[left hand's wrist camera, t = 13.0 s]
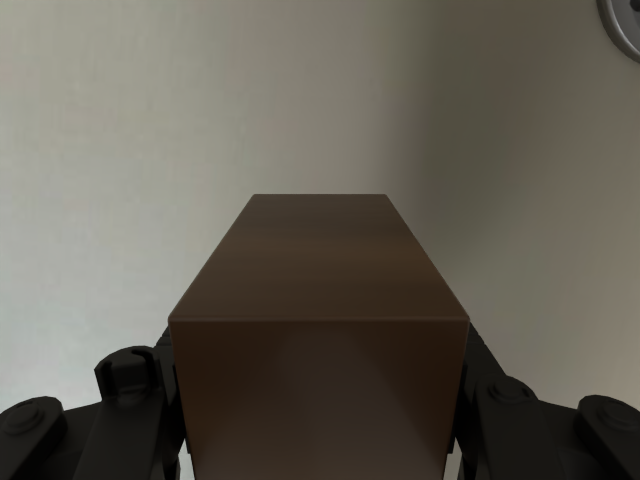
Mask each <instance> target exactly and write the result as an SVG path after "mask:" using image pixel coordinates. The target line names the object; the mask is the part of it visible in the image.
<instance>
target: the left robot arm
mask: <svg viewBox="0 0 640 480" xmlns="http://www.w3.org/2000/svg"><path fill="white" fill-rule="evenodd" d="M597 6H598V10H599V14H600V18H601V20H602V23H603V26H604V28H605V30H606V32H607V34H608V36H609V37H610V38H611V40H612V41H613V43H614V44H615V45H616V46H617V47H618V48H619V50H621V51H622V52H623V53H624V54H625V55H626V56H628V57H629V58H631V59H632V60H634V61H636V62H638V63H640V0H597ZM94 372H95V375H96V379H97V383H98V386H99V390H100V394H101V397H102V401H101V402H98V403H95V404H91V405H87V406H83V407H78V408H74V409H70V410H65V411H64V410H63V407H62V404H61V402H60V401H59V400H58V399H56V398H54V397H48V396H43V397H36V398H31V399H28V400H26V401H23V402H20V403H18V404H16V405H14V406H12V407H10V408H8V409H7V410H5V411H3V412H2V413H1V414H0V480H180V462H179V457H178V454H179V452H180V449H181V447H182V444H183V442H184V439H185V441H186V447H187V452H188V454H190V449H189V443H188V437H187V431H186V425H185V420H184V414H183V408H182V402H181V396H180V390H179V385H178V379H177V373H176V367H175V361H174V355H173V350H172V344H171V338H170V332H169V326H168V327H167V328H166V330H165V331H164V333H163V334H162V337H160V339H159V340H158V342H157V343H156V346H154V348H152V347H148V346H132V347H128V348H124V349H120V350H118V351H116V352H114V353H112V354H109V355H108V356H107V357H105V358H104V359H103V360H101V361H100V362H99V363H98V365H97V366H96V368H95V369H94ZM455 437H456V439H457V442H458V444H459V447H460V449H461V452H462V457H461V462H460V467H459V472H458V478H457V480H640V412H639V411H638V410H637V409H635V408H633V407H632V406H630V405H628V404H626V403H624V402H622V401H619V400H617V399H614V398H611V397H608V396H601V395H590V396H585V397H584V398H583V399H581V400H580V402H579V405H578V408H577V409H573V408H568V407H564V406H560V405H555V404H551V403H547V402H544V401H541V400H538V398H537V397H536V395H535V393H534V392H533V390H531V389H530V388H529V387H528V386H527V385H525V384H524V383H523V382H521V381H519V380H517V379H515V378H513V377H510V376H507V375H506V374H505V373H504V371H503V370H502V368H501V367H500V365H499V364H498V362H497V361H496V359H495V358H494V356H493V355H492V353H491V352H490V350H489V349H488V347H487V346H486V345H485V344H484V341H483V340H482V338H481V337H480V336H479V335H478V332H477V331H476V329H475V328H474V326H473V325H472V323H471V322H470V325H469V331H468V337H467V343H466V349H465V354H464V360H463V366H462V372H461V378H460V384H459V390H458V396H457V401H456V407H455V413H454V419H453V425H452V431H451V437H450V443H449V448H448V454H453V448H454V442H455Z"/></svg>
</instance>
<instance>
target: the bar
mask: <svg viewBox="0 0 640 480" xmlns="http://www.w3.org/2000/svg"><path fill="white" fill-rule="evenodd" d="M469 325H470V318H469V316H468V314H467V313H466V311H465V310H464V308H463V307H462V305H461V304H460V302H459V301H458V299H457V298H456V297H455V295H454V294H453V292H452V291H451V289H450V288H449V286H448V285H447V283H446V282H445V280H444V279H443V277H442V276H441V275H440V273H439V272H438V270H437V269H436V267H435V266H434V264H433V263H432V261H431V260H430V258H429V257H428V255H427V254H426V253H425V251H424V250H423V248H422V247H421V245H420V244H419V242H418V241H417V239H416V238H415V236H414V235H413V233H412V232H411V231H410V229H409V228H408V226H407V225H406V223H405V222H404V220H403V219H402V217H401V216H400V214H399V213H398V211H397V210H396V209H395V207H394V206H393V204H392V203H391V201H390V200H389V198H388V197H387V195H385V194H254V195H253V196H252V197H251V199H250V200H249V202H248V203H247V204H246V206H245V207H244V209H243V210H242V212H241V213H240V214H239V216H238V217H237V219H236V220H235V222H234V223H233V225H232V226H231V227H230V229H229V230H228V232H227V233H226V235H225V236H224V237H223V239H222V240H221V242H220V243H219V245H218V246H217V247H216V249H215V250H214V252H213V253H212V255H211V256H210V258H209V259H208V260H207V262H206V263H205V265H204V266H203V268H202V269H201V270H200V272H199V273H198V275H197V276H196V278H195V279H194V281H193V282H192V283H191V285H190V286H189V288H188V289H187V291H186V292H185V293H184V295H183V296H182V298H181V299H180V301H179V302H178V304H177V305H176V306H175V308H174V309H173V311H172V312H171V314H170V315H169V317H168V326H169V332H170V338H171V344H172V350H173V355H174V361H175V367H176V373H177V379H178V385H179V390H180V396H181V402H182V408H183V414H184V420H185V425H186V431H187V437H188V443H189V449H190V455H191V460H192V466H193V472H194V478H195V480H443V478H444V472H445V466H446V460H447V454H448V448H449V443H450V437H451V431H452V425H453V419H454V413H455V407H456V401H457V396H458V390H459V384H460V378H461V372H462V366H463V360H464V354H465V349H466V343H467V337H468V331H469Z"/></svg>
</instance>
